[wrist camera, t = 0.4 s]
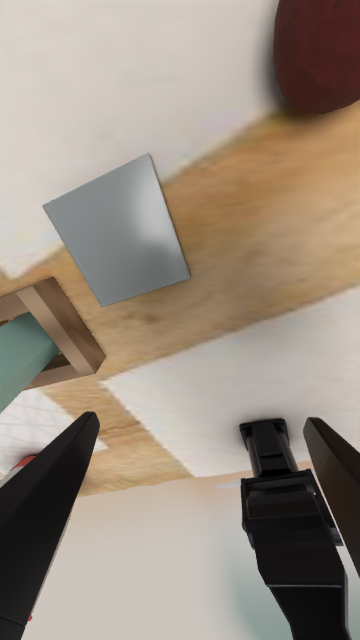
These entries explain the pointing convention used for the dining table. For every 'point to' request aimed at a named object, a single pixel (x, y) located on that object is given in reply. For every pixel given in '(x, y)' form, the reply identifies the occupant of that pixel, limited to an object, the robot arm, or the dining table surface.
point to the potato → (318, 53)
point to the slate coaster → (120, 233)
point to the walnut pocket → (55, 331)
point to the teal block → (22, 355)
